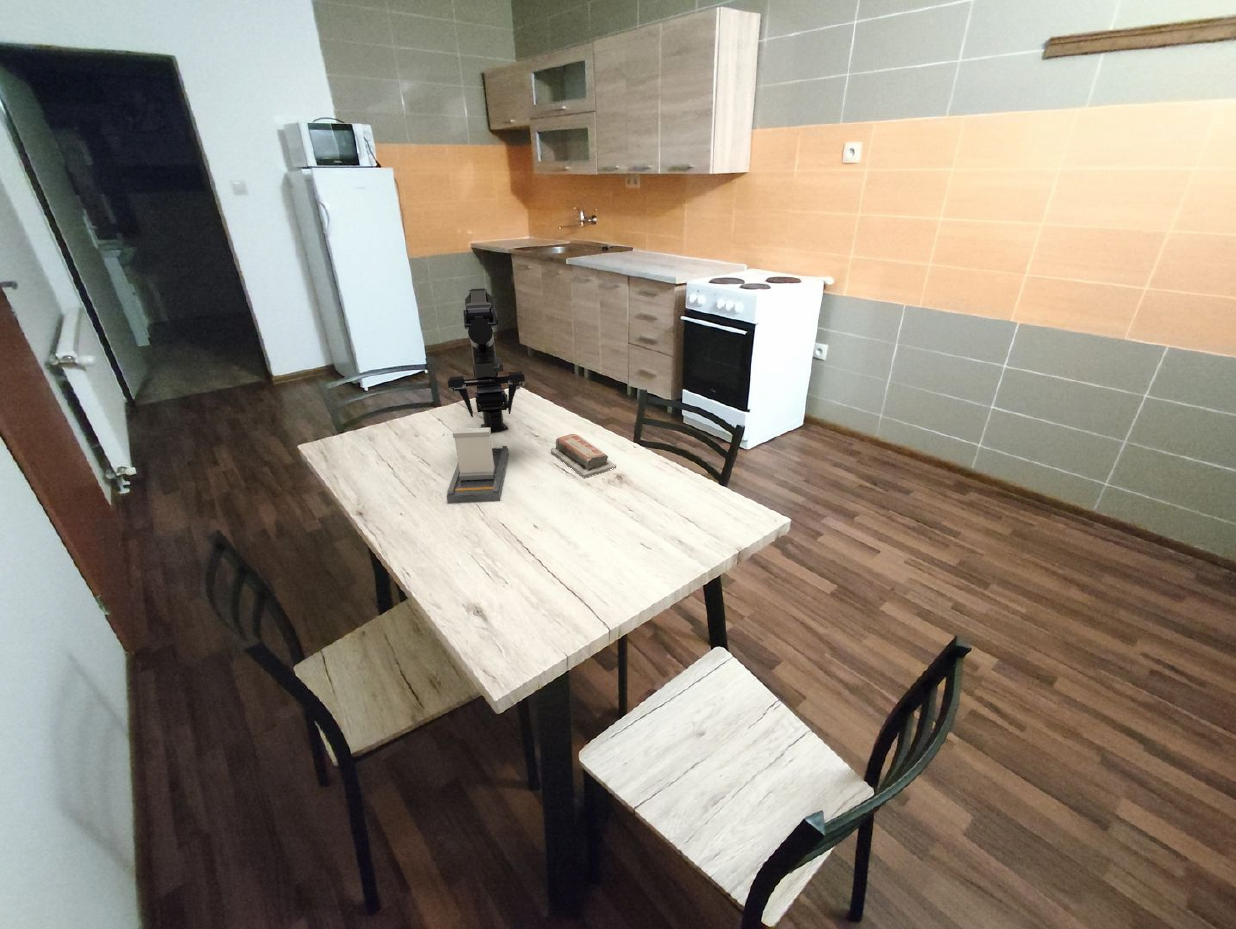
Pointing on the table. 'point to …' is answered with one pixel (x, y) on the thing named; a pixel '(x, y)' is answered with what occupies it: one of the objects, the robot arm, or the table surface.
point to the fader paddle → (474, 453)
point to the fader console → (480, 482)
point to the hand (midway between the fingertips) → (491, 415)
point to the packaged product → (581, 455)
